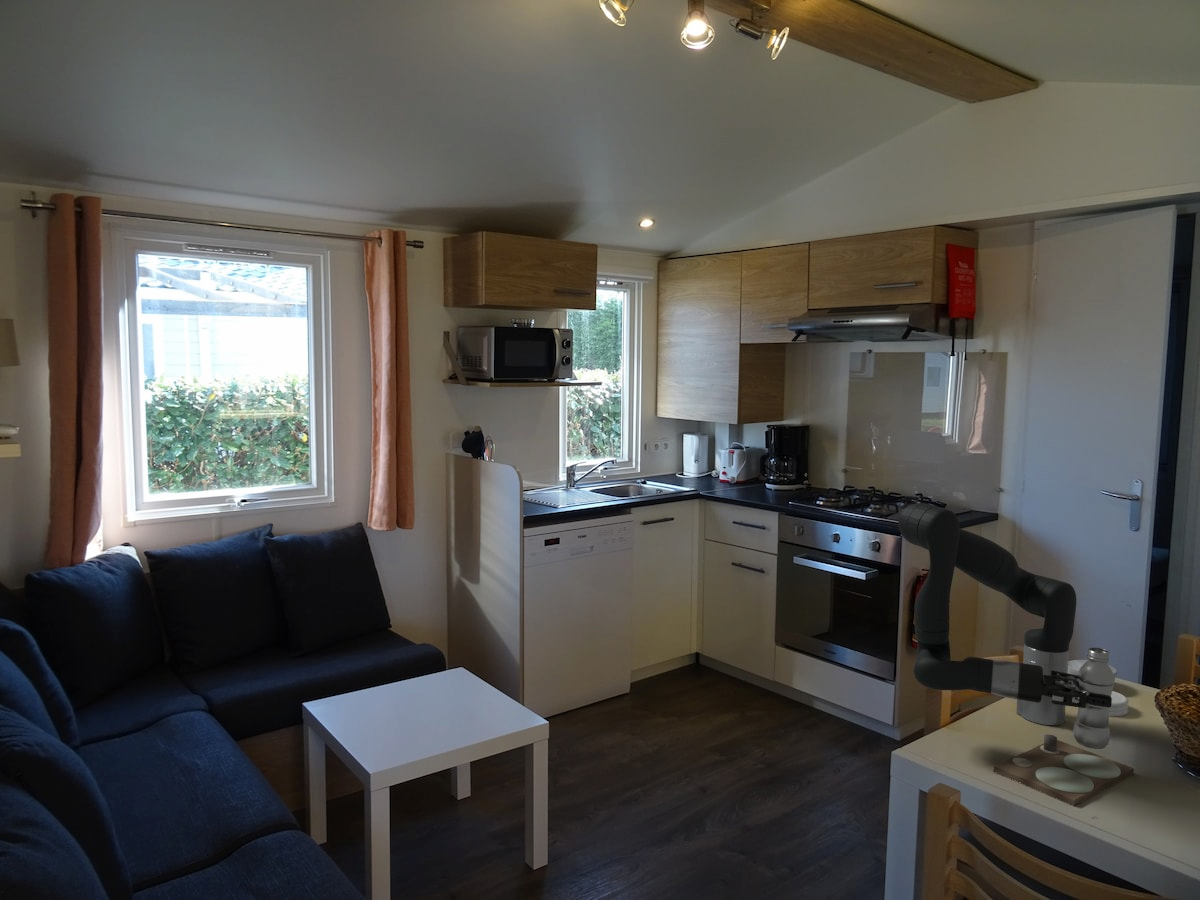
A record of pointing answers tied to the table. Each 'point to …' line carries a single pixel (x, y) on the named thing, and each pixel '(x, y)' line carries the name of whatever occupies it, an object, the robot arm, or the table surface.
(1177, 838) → the table surface
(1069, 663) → the ramekin
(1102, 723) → the plastic bottle
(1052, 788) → the board
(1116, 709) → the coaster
